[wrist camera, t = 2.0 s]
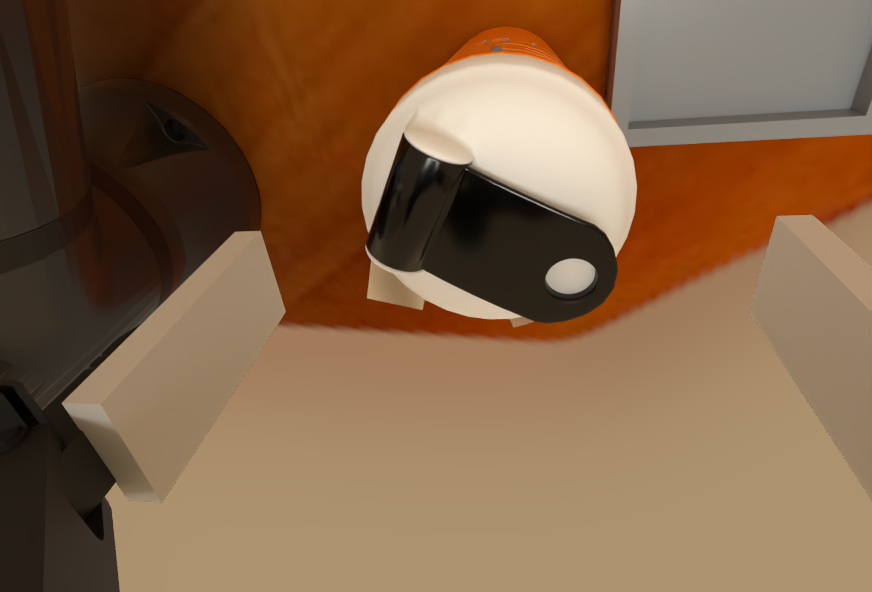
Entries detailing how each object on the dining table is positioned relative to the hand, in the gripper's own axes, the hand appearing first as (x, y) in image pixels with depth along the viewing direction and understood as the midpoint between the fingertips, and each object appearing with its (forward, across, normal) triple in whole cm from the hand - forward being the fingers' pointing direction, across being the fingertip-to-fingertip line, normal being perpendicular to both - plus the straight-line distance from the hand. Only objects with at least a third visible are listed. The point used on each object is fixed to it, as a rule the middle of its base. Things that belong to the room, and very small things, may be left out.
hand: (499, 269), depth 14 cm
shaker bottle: (+21, 0, 0) cm, 21 cm away
